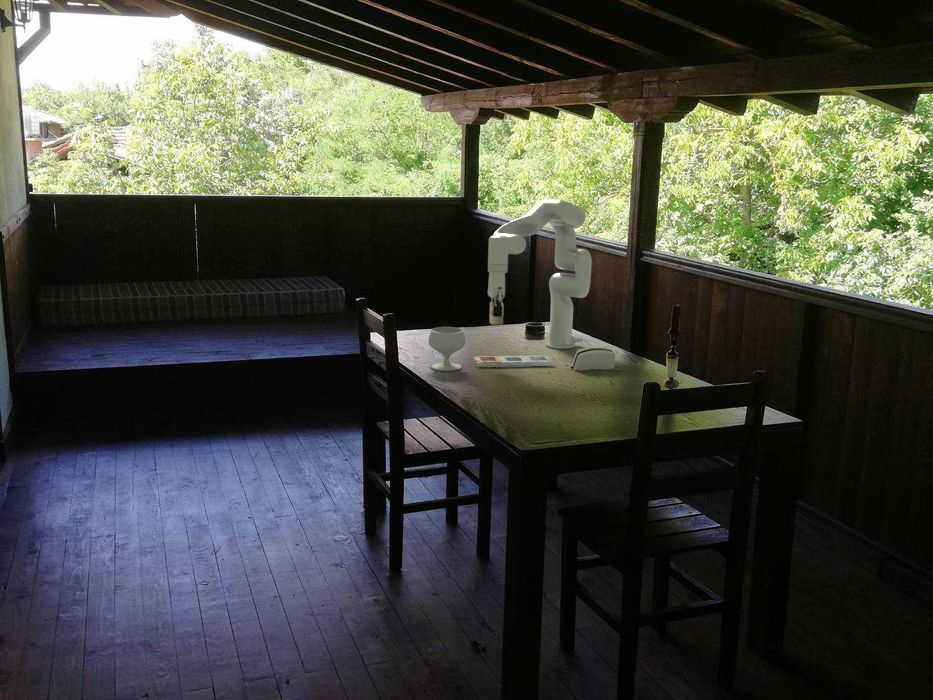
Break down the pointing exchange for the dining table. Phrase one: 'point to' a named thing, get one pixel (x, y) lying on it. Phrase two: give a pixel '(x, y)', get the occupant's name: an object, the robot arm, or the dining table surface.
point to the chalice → (446, 345)
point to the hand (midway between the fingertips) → (496, 314)
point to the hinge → (594, 359)
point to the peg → (493, 319)
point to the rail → (513, 361)
